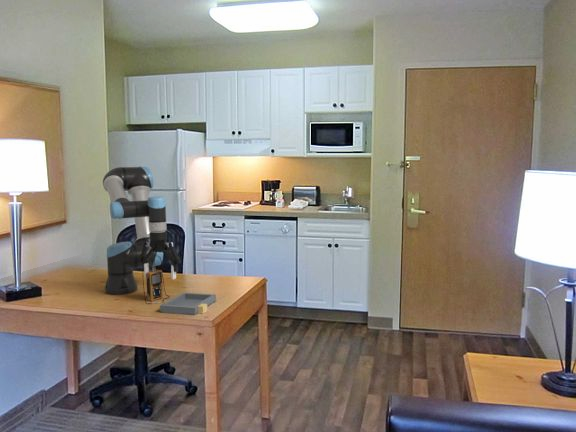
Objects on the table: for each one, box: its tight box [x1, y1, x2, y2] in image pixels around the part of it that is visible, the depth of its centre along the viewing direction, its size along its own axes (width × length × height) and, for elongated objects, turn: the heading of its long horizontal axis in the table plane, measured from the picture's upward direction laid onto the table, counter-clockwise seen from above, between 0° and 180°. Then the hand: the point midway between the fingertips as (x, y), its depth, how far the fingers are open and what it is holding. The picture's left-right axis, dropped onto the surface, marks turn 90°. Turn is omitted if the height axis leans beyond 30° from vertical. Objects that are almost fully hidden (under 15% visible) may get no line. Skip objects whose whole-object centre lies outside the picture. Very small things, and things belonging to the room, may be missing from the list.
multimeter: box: [142, 256, 170, 305], centre depth 230 cm, size 15×10×20 cm
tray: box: [159, 292, 217, 316], centre depth 220 cm, size 18×21×3 cm
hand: (160, 278), depth 230 cm, fingers open, 13 cm apart
